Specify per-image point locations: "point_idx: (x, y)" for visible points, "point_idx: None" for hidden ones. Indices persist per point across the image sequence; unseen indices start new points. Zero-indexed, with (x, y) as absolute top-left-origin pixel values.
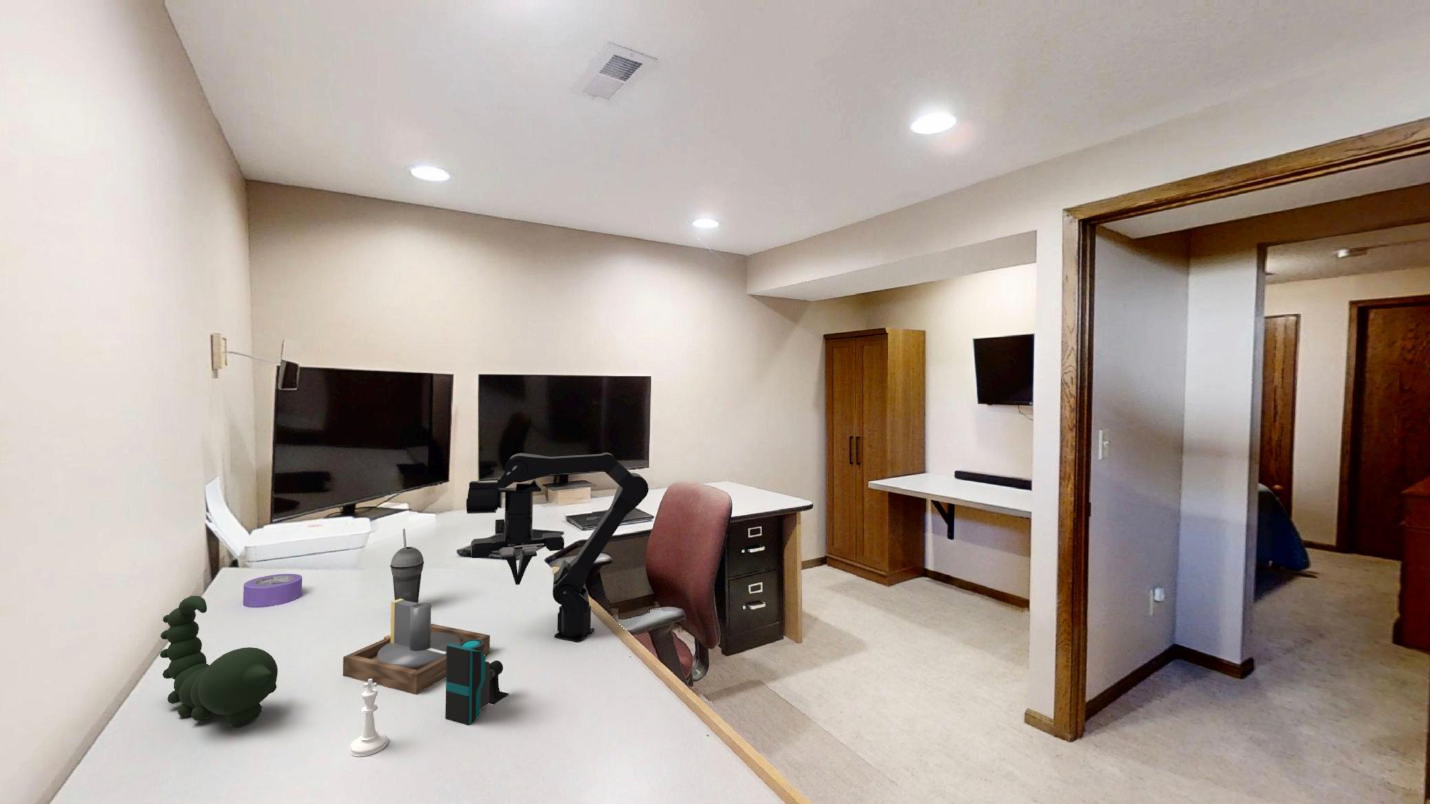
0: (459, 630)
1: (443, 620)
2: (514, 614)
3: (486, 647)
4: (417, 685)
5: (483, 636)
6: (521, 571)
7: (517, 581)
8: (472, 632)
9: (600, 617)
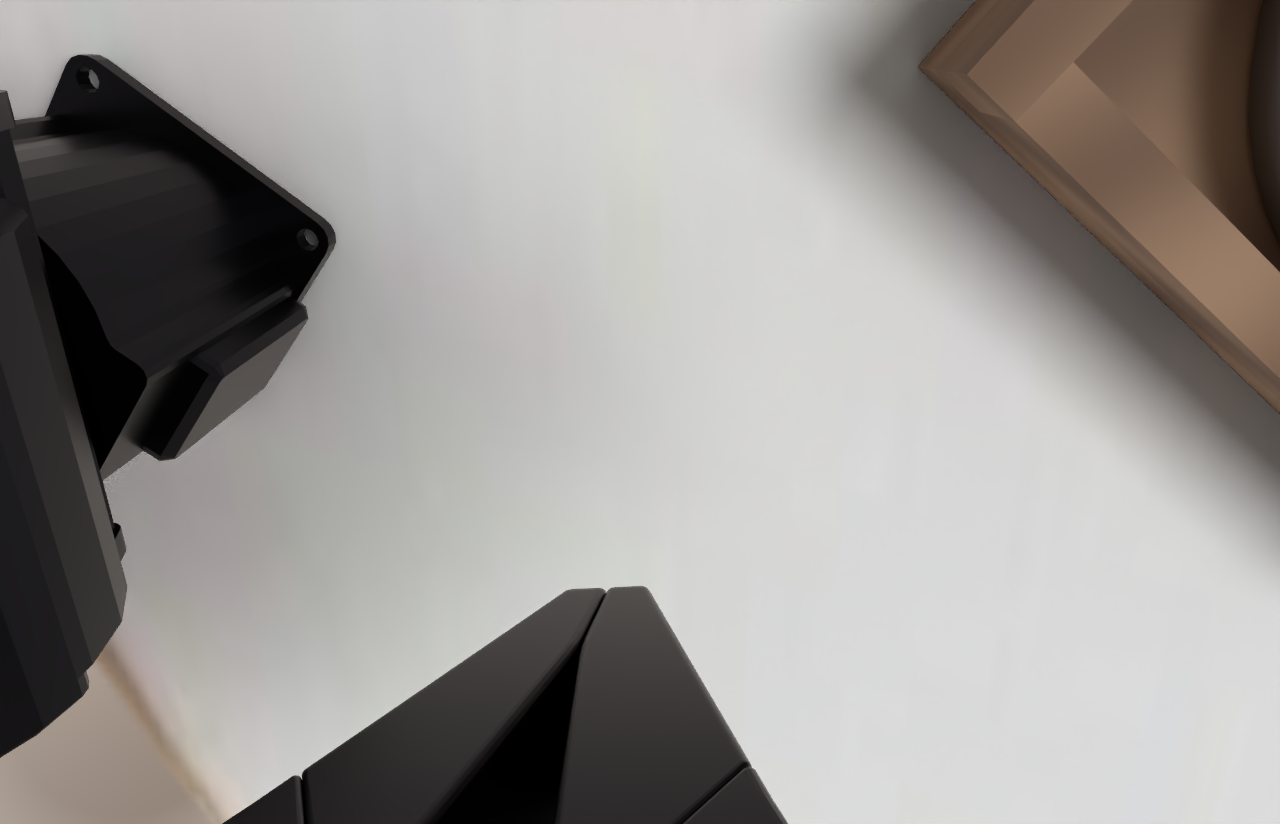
0: (1270, 321)
1: (1190, 799)
2: None
3: (972, 26)
4: None
5: (1045, 53)
6: (420, 761)
7: (602, 615)
8: (1145, 224)
9: None
